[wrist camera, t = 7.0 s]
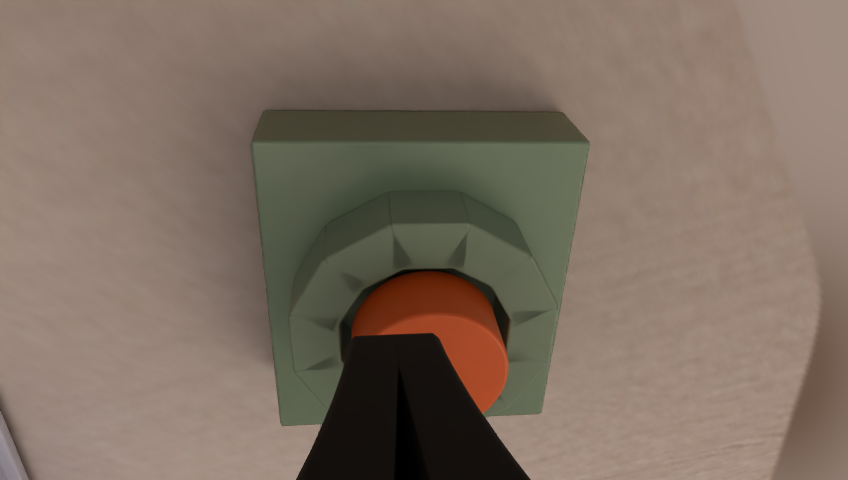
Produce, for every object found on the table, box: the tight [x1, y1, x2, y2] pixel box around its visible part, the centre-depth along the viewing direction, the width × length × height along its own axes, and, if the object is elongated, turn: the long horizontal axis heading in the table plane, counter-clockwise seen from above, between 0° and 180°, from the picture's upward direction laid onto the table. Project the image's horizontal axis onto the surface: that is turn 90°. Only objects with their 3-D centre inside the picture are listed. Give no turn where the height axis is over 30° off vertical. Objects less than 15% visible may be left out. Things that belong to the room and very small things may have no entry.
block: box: [251, 111, 590, 426], centre depth 17 cm, size 9×8×4 cm
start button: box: [351, 271, 509, 414], centre depth 15 cm, size 4×4×2 cm
